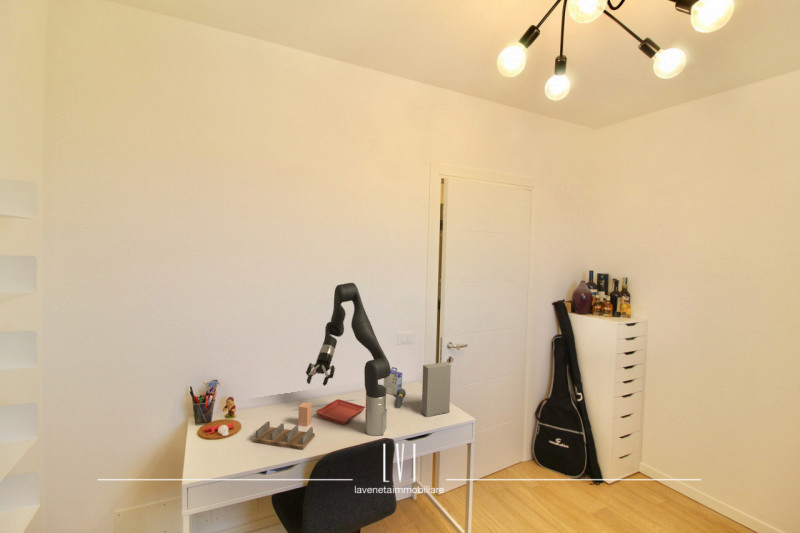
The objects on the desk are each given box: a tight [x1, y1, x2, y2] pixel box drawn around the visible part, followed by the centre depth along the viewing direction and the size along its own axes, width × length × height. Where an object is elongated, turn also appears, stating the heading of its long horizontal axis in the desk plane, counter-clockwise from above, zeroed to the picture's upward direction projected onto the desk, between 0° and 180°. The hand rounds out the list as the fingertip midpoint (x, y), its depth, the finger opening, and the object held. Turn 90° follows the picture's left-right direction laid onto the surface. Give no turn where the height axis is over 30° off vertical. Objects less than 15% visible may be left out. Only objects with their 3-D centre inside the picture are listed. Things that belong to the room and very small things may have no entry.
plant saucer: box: [315, 398, 366, 425], centre depth 177 cm, size 18×18×3 cm
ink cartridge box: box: [383, 366, 403, 396], centre depth 206 cm, size 10×6×14 cm, turn 59°
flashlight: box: [395, 388, 407, 408], centre depth 195 cm, size 20×5×5 cm, turn 177°
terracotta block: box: [297, 402, 313, 427], centre depth 166 cm, size 4×4×9 cm
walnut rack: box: [252, 421, 316, 451], centre depth 152 cm, size 23×11×4 cm, turn 78°
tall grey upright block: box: [420, 361, 452, 418], centre depth 182 cm, size 14×6×25 cm, turn 115°
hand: (316, 384), depth 177 cm, fingers open, 8 cm apart
